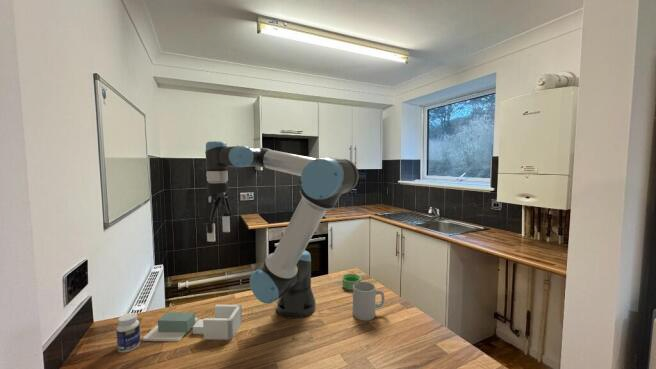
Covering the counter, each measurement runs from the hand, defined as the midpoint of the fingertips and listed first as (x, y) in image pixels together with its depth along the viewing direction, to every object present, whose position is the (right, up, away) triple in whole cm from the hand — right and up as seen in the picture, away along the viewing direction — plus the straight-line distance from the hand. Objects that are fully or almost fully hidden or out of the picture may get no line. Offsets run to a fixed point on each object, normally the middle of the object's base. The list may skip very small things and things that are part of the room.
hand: (219, 236), depth 105 cm
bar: (-9, -29, -13) cm, 33 cm away
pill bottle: (-20, -31, -21) cm, 42 cm away
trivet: (-11, -30, -12) cm, 34 cm away
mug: (+58, -29, -3) cm, 65 cm away
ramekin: (+53, -28, +20) cm, 63 cm away
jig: (+4, -30, -13) cm, 33 cm away
